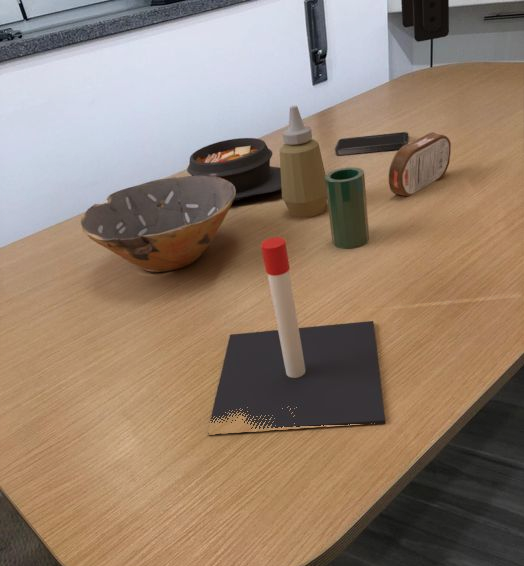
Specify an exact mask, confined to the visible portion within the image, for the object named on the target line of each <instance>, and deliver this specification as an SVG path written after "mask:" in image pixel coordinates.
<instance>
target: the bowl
mask: <svg viewBox="0 0 524 566" xmlns="http://www.w3.org/2000/svg"><path fill="white" fill-rule="evenodd" d="M235 195H236V190H235V186H234V185H233V184H232V183H230V182H229V181H227V180H225V179H223V178H219V177H215V176H192V175H186V176H185V175H184V176H178V177H177V176H173V177H165V178H159V179H154V180H150V181H146V182H143V183H141V184H138V185H134V186H130V187H126V188H123V189H120V190H117V191H115V192H113V193H111V194H109V195H108V196H107V198H106V201H107V202H103V203H94V204H93V205H92V206H90V207H88V208H87V210H86V211H85V213H84V214H83V215H82V216H81V217H80V218H79V228H80V230H81V231H82V232H83V234H85V235H86V236H87V237H88V238H89V240H91V241H93V242H95V243H96V244H98V245H100V246H101V247H103V248H106V249H107V250H108V251H109V252H112V253H114V254H116V255H118V256H119V257H121V258H123V259H124V260H125V261H127V262H129V263H131V264H133V265H135V266H137V267H139V268H140V269H141V270H145V271H148V272H153V273H163V272H168V271H175V270H179V269H182V268H184V267H187V266H188V265H191V264H193V262H195V261H196V260H198V259H199V258H200V256H201V255H202V254H203V253H204V252H205V251H206V250H207V249H208V247H209V246H210V244H211V243H212V241H213V240H214V238H215V236H216V234H217V232H218V230H219V229H220V227H221V225H222V223H223V222H224V220H225V218H226V216H227V214H228V212H229V211H230V208H231V207H232V204H233V203H234V202H235V201H234V198H235Z"/></svg>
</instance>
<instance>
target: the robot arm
mask: <svg viewBox="0 0 524 566" xmlns="http://www.w3.org/2000/svg"><path fill="white" fill-rule="evenodd" d="M449 1H450V0H400V3H401V4H400V5H401V23H402V26H403V27H404V28H410V27H413V39H414V41H416V42H417V43H419V42H425V41H430V40H436V39H441V38H446V37H448V35H449V34H450V8H449V7H450V2H449Z"/></svg>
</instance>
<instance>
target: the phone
mask: <svg viewBox="0 0 524 566" xmlns="http://www.w3.org/2000/svg"><path fill="white" fill-rule="evenodd" d="M409 139H410V137H409V132H408V131H403V132H401V131H400V132H392V133H383V134H373V135H363V136H353V137H344V138H340V139H338V141H337V143H336V145H335V148H334V154H335V155H336V156H343V155H344V156H345V155H354V154H364V153H365V154H367V153H376V152H386V151H395V150H396V151H398V150H399V149H400V148H401V147H403V146H405V145H407V144H409Z"/></svg>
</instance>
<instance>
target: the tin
mask: <svg viewBox="0 0 524 566" xmlns="http://www.w3.org/2000/svg"><path fill="white" fill-rule="evenodd" d="M451 146H452V143H451V141H450V138H449V137H448V136H447V135H444V134H440V133H436V132H429V133H426V134H424V135H422V136H421V137H419V138H416V139H415V140H412V141H411V142H408V144H407V145H405V146H403V147H401V148H400V149H398V150H397V151H396V153H395V154H394V156H393V158H392V160H391V163H390V165H389V170H388V186H389V190H390V191H391V192H392V193H393V194H394V195H397V196H403V197H410V196H412V195H414V194H415V193H417V192H419V191H420V190H422V189H423V188H426V187H427V186H429V185H430V184H432V183H435V182H437V181H440V180H441V179H442V178H443V177H444V176H445V174H446V172H447V170H448V168H449V165H450V160H451V159H450V158H451V148H452V147H451Z"/></svg>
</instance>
